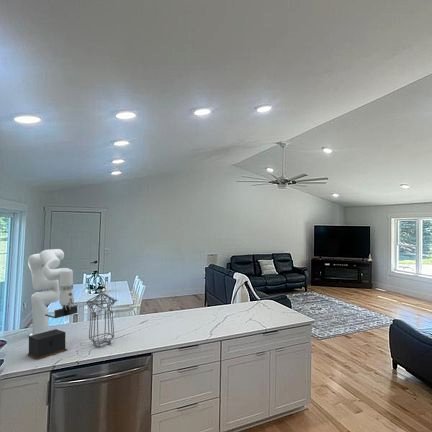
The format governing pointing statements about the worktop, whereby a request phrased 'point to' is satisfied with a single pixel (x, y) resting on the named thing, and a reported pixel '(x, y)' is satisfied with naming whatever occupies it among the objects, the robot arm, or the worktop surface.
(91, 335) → the geometric lantern
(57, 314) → the brown angular bar frame
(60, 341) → the wood-trimmed dark box
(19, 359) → the worktop surface
